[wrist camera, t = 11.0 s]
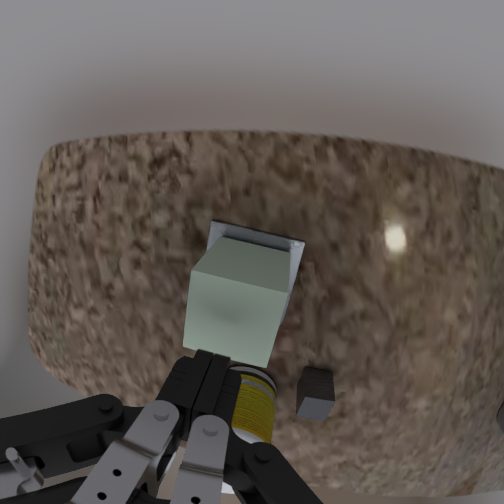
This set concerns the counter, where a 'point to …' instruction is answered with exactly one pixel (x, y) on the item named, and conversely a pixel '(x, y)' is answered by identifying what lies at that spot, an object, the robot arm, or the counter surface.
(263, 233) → the post on square base
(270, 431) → the pill bottle
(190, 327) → the pale green block
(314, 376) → the short post
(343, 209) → the counter surface
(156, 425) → the robot arm
